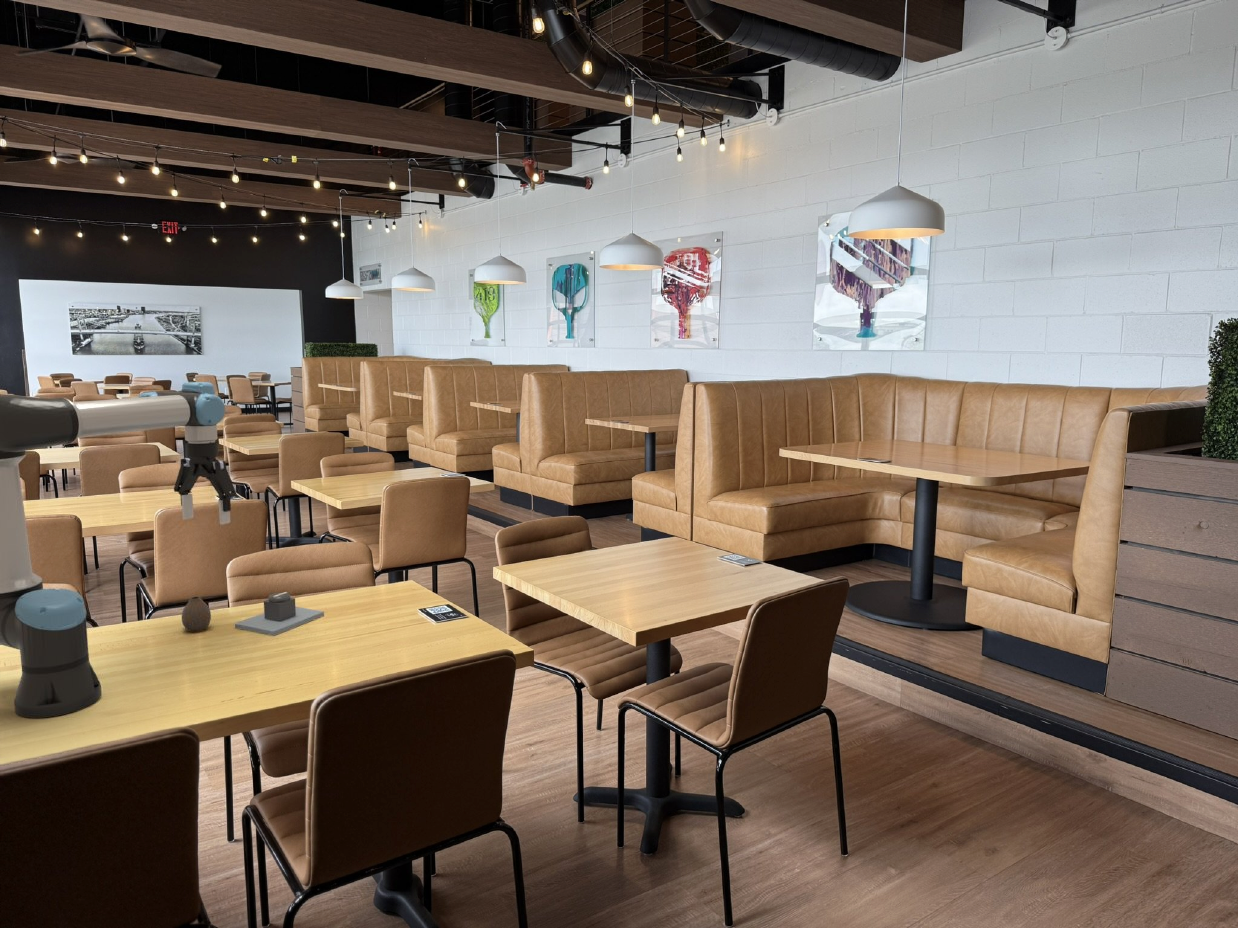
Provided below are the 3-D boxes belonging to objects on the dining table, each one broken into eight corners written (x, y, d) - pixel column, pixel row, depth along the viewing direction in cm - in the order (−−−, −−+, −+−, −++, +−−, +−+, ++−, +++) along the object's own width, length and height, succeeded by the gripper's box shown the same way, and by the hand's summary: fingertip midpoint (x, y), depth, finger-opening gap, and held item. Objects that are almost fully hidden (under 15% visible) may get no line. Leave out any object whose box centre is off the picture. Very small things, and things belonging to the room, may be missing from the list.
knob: (280, 621, 220) (278, 598, 219) (264, 618, 222) (263, 595, 222) (295, 615, 225) (294, 593, 224) (280, 612, 227) (279, 590, 227)
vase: (203, 634, 214) (201, 601, 212) (177, 633, 214) (175, 601, 213) (216, 625, 221) (214, 593, 219) (191, 624, 221) (189, 593, 219)
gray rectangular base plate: (273, 635, 213) (272, 616, 212) (234, 627, 219) (233, 609, 218) (324, 615, 229) (323, 597, 229) (286, 608, 235) (285, 591, 234)
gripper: (248, 442, 212) (252, 522, 215) (180, 437, 222) (185, 514, 225) (224, 445, 205) (228, 528, 208) (155, 440, 215) (160, 519, 218)
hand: (206, 521), depth 216 cm, fingers open, 13 cm apart
